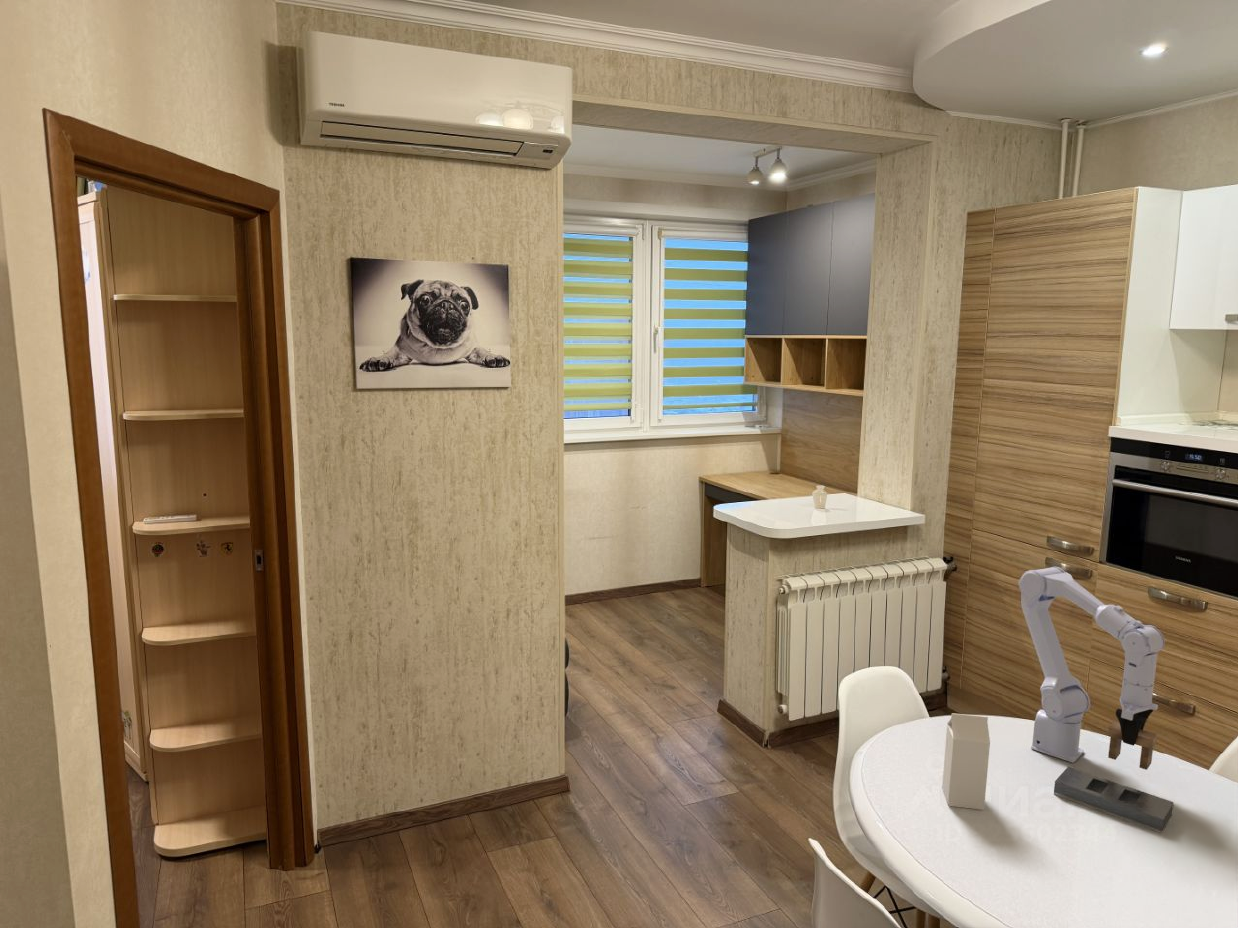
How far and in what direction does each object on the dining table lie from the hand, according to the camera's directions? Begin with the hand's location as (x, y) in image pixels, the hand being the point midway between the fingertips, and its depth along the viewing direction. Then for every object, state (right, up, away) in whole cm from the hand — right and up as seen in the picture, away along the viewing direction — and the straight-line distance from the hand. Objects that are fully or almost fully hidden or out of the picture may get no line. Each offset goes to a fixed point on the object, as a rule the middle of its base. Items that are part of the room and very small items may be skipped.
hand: (1131, 739), depth 181 cm
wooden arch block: (0, -5, +1) cm, 5 cm away
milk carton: (-40, -11, -6) cm, 41 cm away
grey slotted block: (-8, -11, -7) cm, 16 cm away
